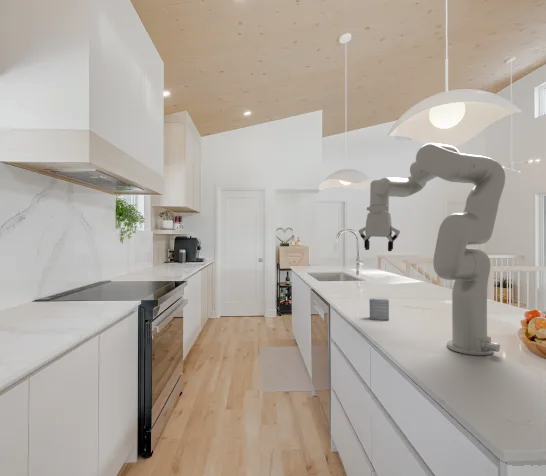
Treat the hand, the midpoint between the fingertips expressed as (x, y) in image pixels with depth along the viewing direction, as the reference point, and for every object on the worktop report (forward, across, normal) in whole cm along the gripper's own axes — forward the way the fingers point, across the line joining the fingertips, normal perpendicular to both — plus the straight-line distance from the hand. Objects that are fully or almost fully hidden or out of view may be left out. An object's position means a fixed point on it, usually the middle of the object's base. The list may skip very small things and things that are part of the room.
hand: (378, 250), depth 148 cm
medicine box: (+30, 0, +2) cm, 30 cm away
